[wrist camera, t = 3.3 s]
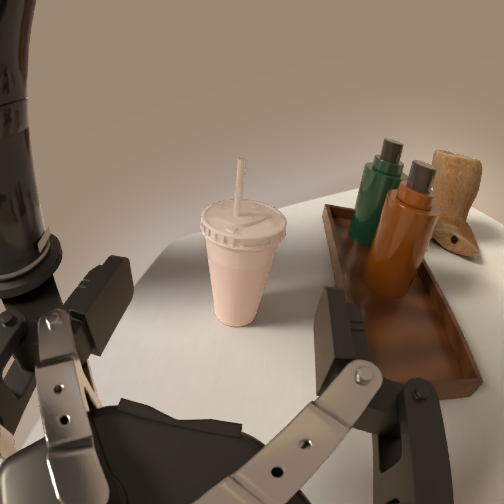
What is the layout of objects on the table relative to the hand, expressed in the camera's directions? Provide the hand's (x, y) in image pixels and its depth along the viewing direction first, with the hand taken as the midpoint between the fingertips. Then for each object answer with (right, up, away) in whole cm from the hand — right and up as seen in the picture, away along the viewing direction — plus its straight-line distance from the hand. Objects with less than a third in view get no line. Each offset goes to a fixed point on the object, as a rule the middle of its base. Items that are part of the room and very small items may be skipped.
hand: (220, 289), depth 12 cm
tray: (+16, -2, +21) cm, 27 cm away
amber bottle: (+16, -2, +21) cm, 27 cm away
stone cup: (+35, +4, +35) cm, 50 cm away
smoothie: (0, -4, +16) cm, 16 cm away
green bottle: (+18, +3, +29) cm, 34 cm away
